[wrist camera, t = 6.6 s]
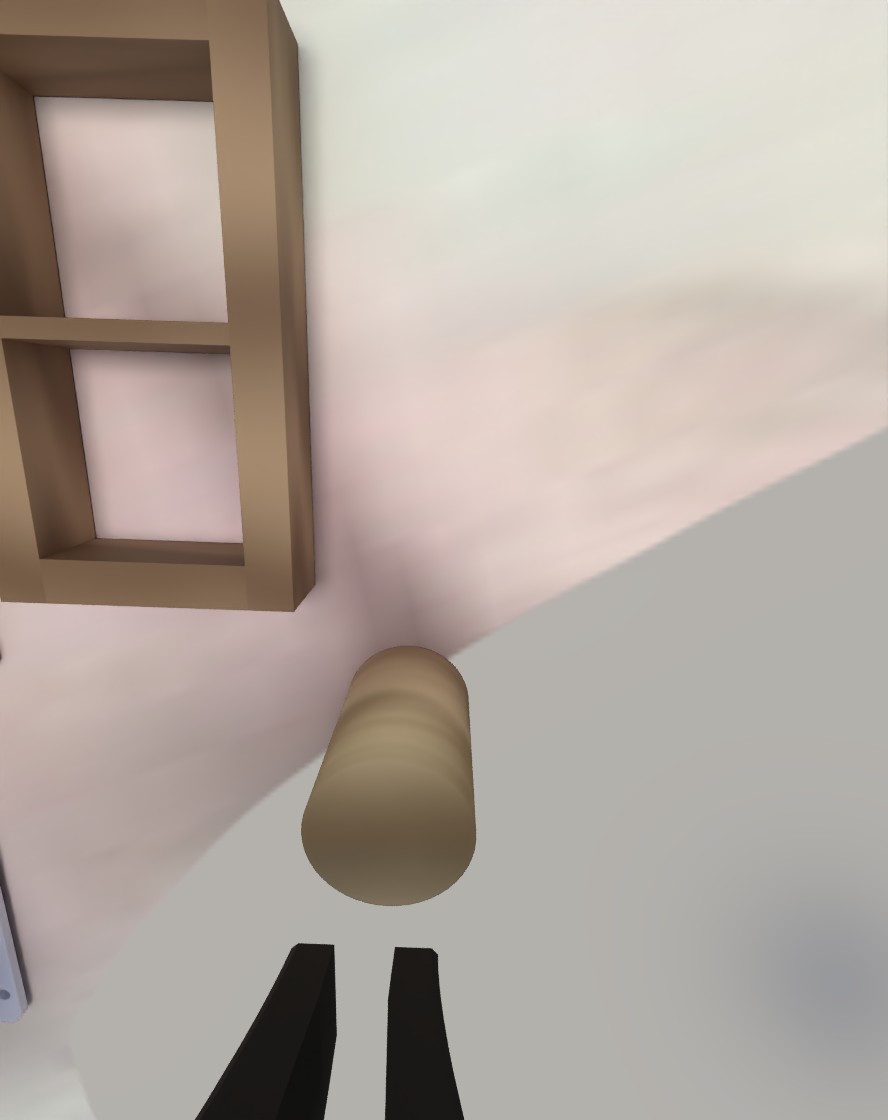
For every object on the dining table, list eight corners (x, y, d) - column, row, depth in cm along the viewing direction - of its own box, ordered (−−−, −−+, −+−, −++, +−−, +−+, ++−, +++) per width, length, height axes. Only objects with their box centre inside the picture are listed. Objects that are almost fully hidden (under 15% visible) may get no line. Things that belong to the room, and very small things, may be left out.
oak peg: (465, 754, 19) (472, 909, 13) (349, 750, 19) (304, 902, 13) (471, 648, 18) (480, 764, 12) (348, 644, 18) (297, 757, 12)
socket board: (315, 584, 17) (293, 612, 15) (61, 575, 17) (1, 601, 15) (297, 43, 13) (265, -33, 11) (-27, 33, 13) (-126, -45, 11)
